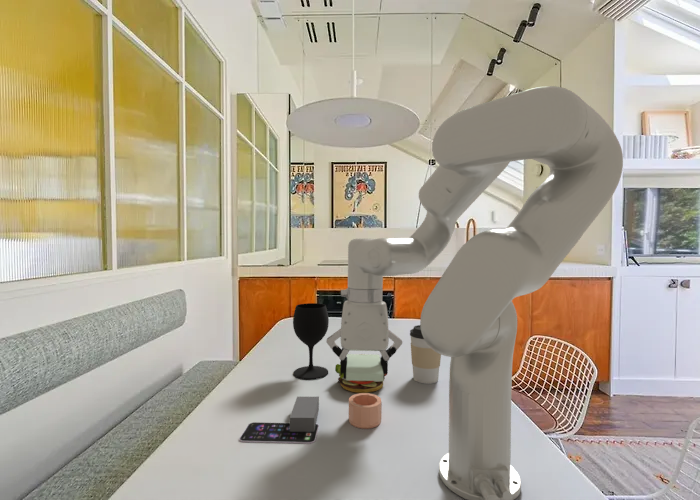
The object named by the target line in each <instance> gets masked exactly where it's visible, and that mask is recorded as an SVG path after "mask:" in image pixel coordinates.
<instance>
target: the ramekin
mask: <svg viewBox="0 0 700 500" xmlns="http://www.w3.org/2000/svg"><path fill="white" fill-rule="evenodd" d="M382 403H383V402H382V397H379V396H378V395H377V394H373V393H371V392H368V393H355V394H352V395H351V396H350V397H349V398H348V423H349V424H350V425H351V426H352V427H354V428H357V429H362V430H369V429H374V428H376V427H379V426H380V425H381V423H382V413H383V412H382V406H383V405H382Z"/></svg>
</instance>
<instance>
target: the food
mask: <svg viewBox="0 0 700 500" xmlns="http://www.w3.org/2000/svg"><path fill="white" fill-rule="evenodd" d="M340 368H341V361H340V363H337V364H335V372H336V374H338V376H339V377H338V378H337V380H338V381H337V382H339V384H340V386H341V387H342V388H343V389H344V390H346V391H349V392H352V393H355V394H359V393H373V392H377V391H379V390H381V389H382V388H383V386H384V382H385V379H384V380H383V381H353V380H346V379H344V373H340ZM387 375H388V373H387V374H385V377H386V376H387Z"/></svg>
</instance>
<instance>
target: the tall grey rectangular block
mask: <svg viewBox="0 0 700 500" xmlns="http://www.w3.org/2000/svg"><path fill="white" fill-rule="evenodd" d="M319 397H320V396H296V399H295V402H294V405H293V407H292V410H291V413H290V415H289V423H290V432H314V430H315V426H316V424H317V421H318V415H319V410H320V402H319V401H320V398H319Z"/></svg>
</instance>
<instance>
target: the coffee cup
mask: <svg viewBox="0 0 700 500" xmlns="http://www.w3.org/2000/svg"><path fill="white" fill-rule="evenodd" d="M409 336H410V354H411V364H412V375H413V376H412V377H413V381H416V382H418V383H422V384H435V383H437V382H438V381H439V376H440V375H439V374H440V366H441V359H442V358H441V357H442V355H441V354H439V353H437V352H435V351H434V350H432V349H431V348H430V347H429V346H428V344H427V343H426V342H425V340H424V338H423V335H422V332H421V326H420V324H419V325H414V326H413V328H412V329H410V330H409Z"/></svg>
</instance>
